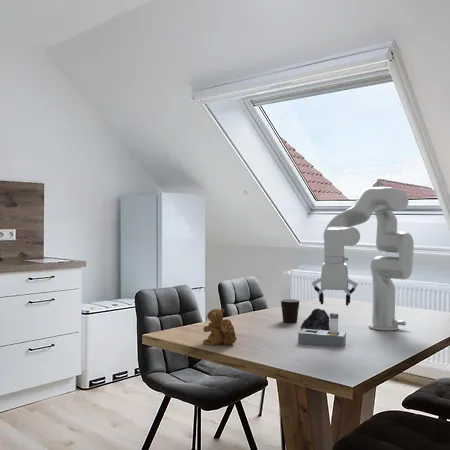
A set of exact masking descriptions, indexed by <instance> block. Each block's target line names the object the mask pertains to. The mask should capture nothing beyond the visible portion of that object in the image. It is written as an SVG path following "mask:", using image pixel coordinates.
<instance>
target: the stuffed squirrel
mask: <svg viewBox="0 0 450 450" xmlns="http://www.w3.org/2000/svg"><path fill="white" fill-rule="evenodd" d="M224 311H225V309H224V308H221V309H220V308H213V309H211V310H210V311H209V312H207V315H206V317H205V321H208V320H209V322H208V325H205V326H203V329H202V330H203V332H204V333H209V335H208V337H207V338H206V339H204V340H202V344H204V345H209V346H220V345H223V346H229V345H233V344H235V342H236V341H237V339H238V338H237V336H236V332H235V328H234V325H233V324H232V321H231V319H226V318H225V319H223V316H224V315H223V313H224Z"/></svg>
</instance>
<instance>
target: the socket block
mask: <svg viewBox="0 0 450 450" xmlns="http://www.w3.org/2000/svg"><path fill="white" fill-rule="evenodd" d="M297 336H298V337H297V340H298V344H299V343H302V344H303V345H311V344H313V346H326V347H337V348H344V346H345V345H346V342H347V340H346V339H347V337H346V336H347V332H346V331H339V330H338V335H336V334H329V331H326V330H312V329H302V330H301V329H300V330H299V332H298V333H297ZM302 344H301V345H302Z"/></svg>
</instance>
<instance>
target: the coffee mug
mask: <svg viewBox="0 0 450 450" xmlns="http://www.w3.org/2000/svg"><path fill="white" fill-rule="evenodd" d="M280 304H281V305H280V306H281V314H282V323H284V324H297V323H298V318H299V316H298V315H299V309H300V299H296V298H295V299H294V298H284V299H283V298H282V299H280Z"/></svg>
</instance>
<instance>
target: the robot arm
mask: <svg viewBox="0 0 450 450" xmlns="http://www.w3.org/2000/svg"><path fill="white" fill-rule="evenodd" d="M408 205H409V196H408V194H407V192H405V191H403V190H401V189H398V188H394V187H389V186H379V187H378V186H376V187H373V186H372V187H367V188H365V189H362V192H361V193H360V194H359V195H358V197H357V199H356V200H355V202H354V203H353V204H352V206H351V207H350V208H348V209H346V210H344V211H342V212H340V213H338V214H336V216H334V217H333V218H331V220H330V221H329V223H327V225H326V226H325V229H324V232H323V245H324V246H323V250H324V251H323V252H324V253H323V257H324V259H323V260H324V262H323V263H322V266H321V273H320V277H319V278H318V279H316V280H313V281H312V282H311V285H312V287H313V288H314V290H315V291H316V293H317V294H318V301H319V303H320V305H323V304H324V301H325V300H324V296H325V295H324V293H323V292H324V291H325V290H327V291H328V290H329V291H330V290H331V291H343V292H344V293H345V307H347V306H349V304H351V294H353V293H354V292H355V290H356V288H357V287H358V282H355V281H354V280H352V279H350V278H349V273H348V265H347V263H346V262H348V261H349V257H348V256H347V257H346V256H345V247H346V246H347V247H353V246H355V245H358V243H359V241H360V239H361V233H360V231H359V229H358V228H356V227H354V226H359V225H362V224H364V223H367V222H368V221H369V220H370V218H371V216H372V215H373V214H374V216H375V217H376V220H377V221H376V239H375V240H376V241H375V248H376V250H377V251H378V252H380V253H384V254H395V255H396V254H398V256H389V255H378V256H375V257H374V258H373V259H372V260H371V262H370V272H371V273H370V274H371V276H372V317H371V318H372V319H371V320H372V322H371V323H370V322H369V323H368V328H370V329H372V330H378V331H386V332H387V331H397V330H399V326H403V327H404V326H405V327H406V325H407V323H406V322H407V320H401V319H400V320H398V319H397V318H396V287H395V284H394V281H393V280H394V279H395V280H407V279H409V278H410V277H411V275H412V273H413V265H414V264H413V262H414V248H415V246H414V239H413V238H414V237H413V236H412V235H411V234H410V232H407V231H406V232H405V231H398V219H397V217H396V215H395V214H394V211H398V212H399V211H405V210H406V209H407V207H408ZM392 279H393V280H392ZM319 283H320V287H318V284H319ZM349 284H350V285H352V288H349Z"/></svg>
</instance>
